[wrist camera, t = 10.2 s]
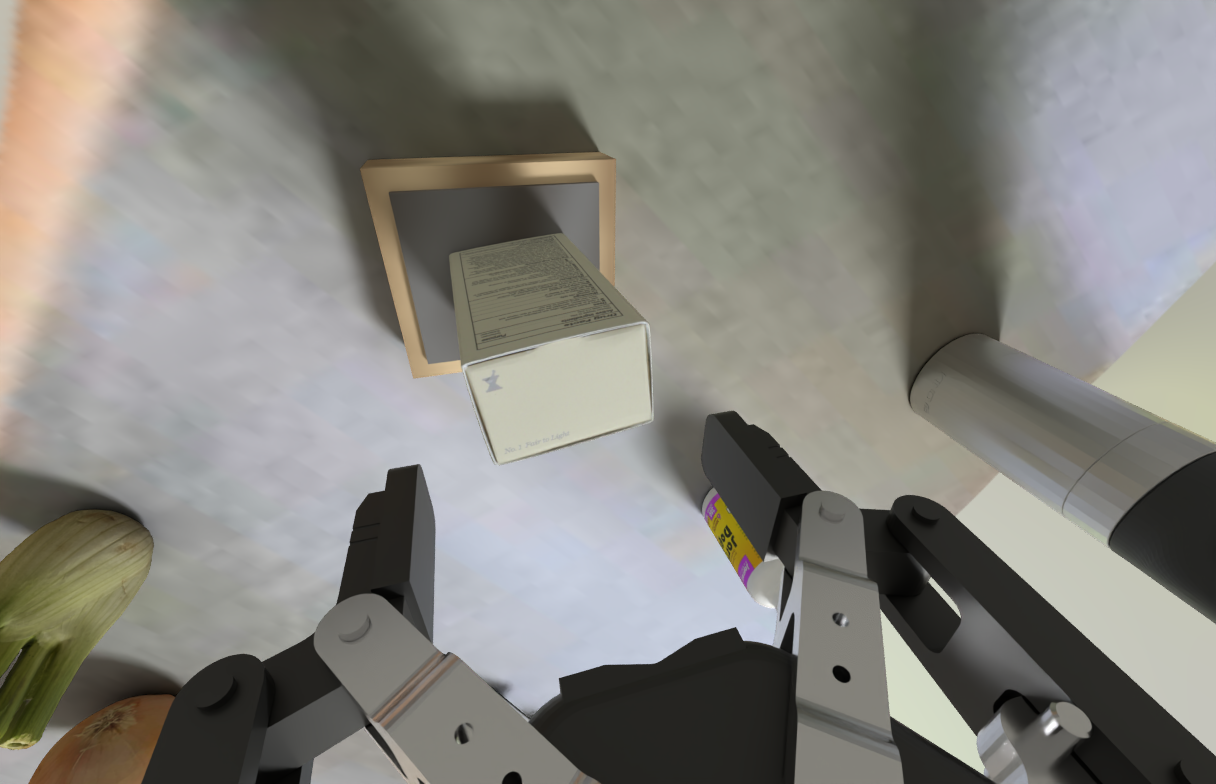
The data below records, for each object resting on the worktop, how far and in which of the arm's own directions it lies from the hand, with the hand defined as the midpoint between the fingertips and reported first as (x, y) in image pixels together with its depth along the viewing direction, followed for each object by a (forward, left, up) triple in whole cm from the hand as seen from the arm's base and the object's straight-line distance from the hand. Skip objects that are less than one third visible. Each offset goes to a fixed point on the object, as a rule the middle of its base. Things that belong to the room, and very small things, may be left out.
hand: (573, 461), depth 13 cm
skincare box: (0, 0, -15) cm, 15 cm away
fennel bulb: (+26, +15, -19) cm, 35 cm away
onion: (+32, +34, -19) cm, 50 cm away
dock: (0, 0, -19) cm, 19 cm away
